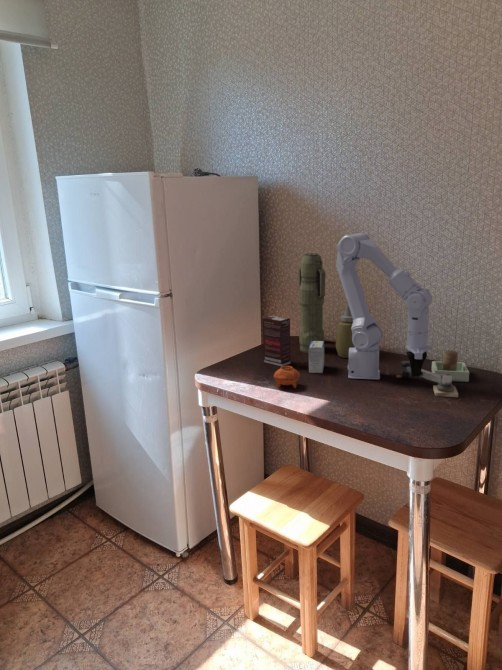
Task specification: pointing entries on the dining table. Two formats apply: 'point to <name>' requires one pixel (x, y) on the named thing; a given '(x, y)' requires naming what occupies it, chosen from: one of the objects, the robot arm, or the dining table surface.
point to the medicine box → (316, 357)
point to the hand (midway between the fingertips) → (415, 375)
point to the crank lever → (427, 375)
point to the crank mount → (442, 390)
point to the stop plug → (450, 360)
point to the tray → (458, 375)
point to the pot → (286, 376)
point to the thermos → (311, 300)
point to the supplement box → (276, 340)
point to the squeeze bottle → (344, 334)
